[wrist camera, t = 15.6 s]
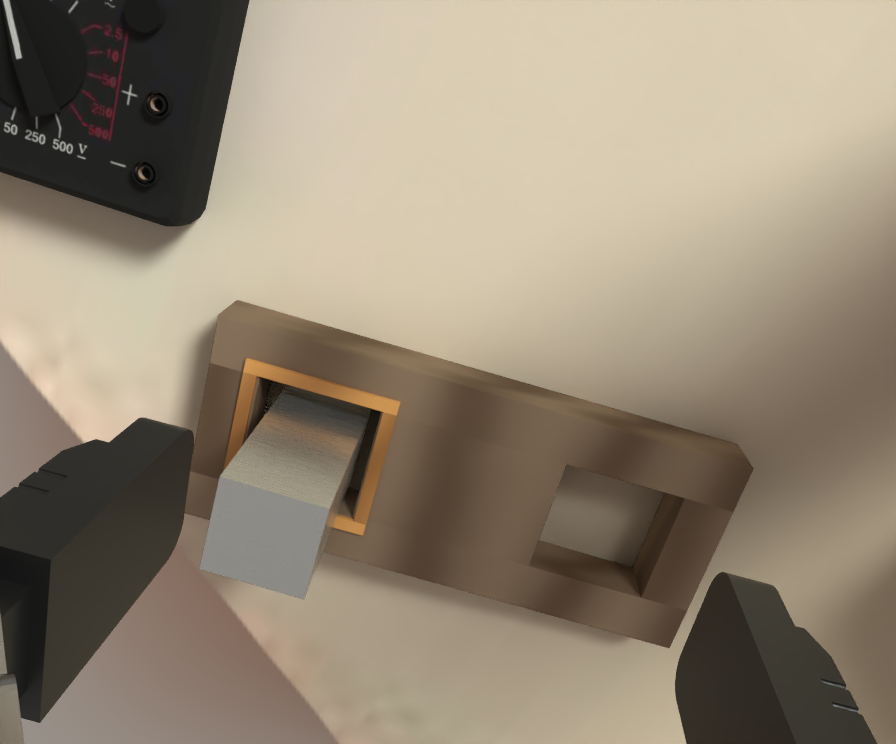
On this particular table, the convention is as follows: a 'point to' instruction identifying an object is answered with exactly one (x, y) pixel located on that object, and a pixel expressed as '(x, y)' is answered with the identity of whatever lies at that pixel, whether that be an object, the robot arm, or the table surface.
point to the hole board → (477, 473)
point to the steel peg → (284, 492)
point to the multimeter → (118, 99)
